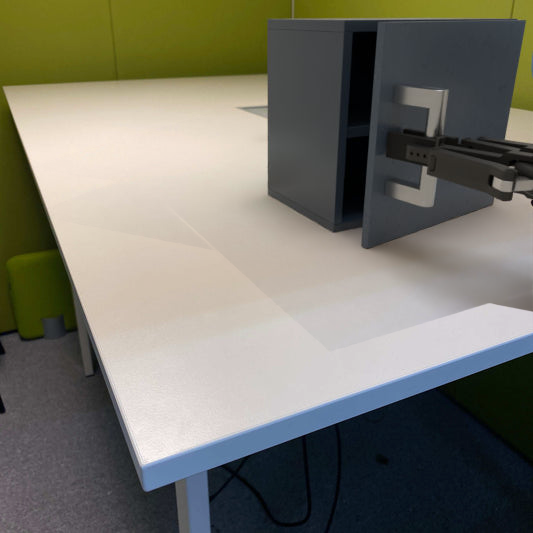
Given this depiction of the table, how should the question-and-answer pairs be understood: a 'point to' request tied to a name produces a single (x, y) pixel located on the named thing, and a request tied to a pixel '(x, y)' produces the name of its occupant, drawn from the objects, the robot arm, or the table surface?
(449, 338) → the table surface
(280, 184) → the cabinet
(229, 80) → the table surface
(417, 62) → the door
